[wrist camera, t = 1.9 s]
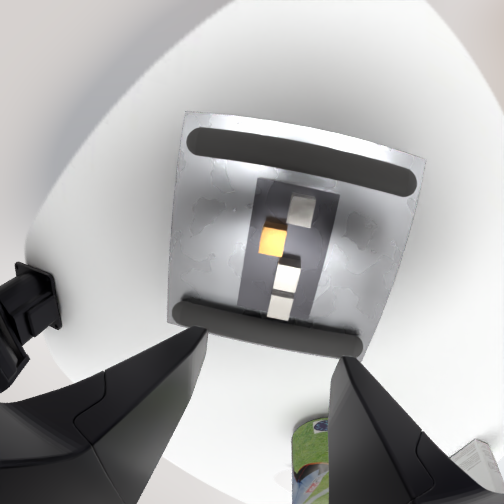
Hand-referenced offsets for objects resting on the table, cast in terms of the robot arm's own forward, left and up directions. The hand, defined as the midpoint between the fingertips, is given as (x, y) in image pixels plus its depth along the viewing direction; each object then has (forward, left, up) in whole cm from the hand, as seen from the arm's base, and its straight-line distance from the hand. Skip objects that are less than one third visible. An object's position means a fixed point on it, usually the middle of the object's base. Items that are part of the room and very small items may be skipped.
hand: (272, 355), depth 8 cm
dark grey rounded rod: (0, -5, -10) cm, 11 cm away
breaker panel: (0, 0, -12) cm, 12 cm away
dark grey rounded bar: (0, +5, -10) cm, 11 cm away
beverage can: (+8, -18, -12) cm, 23 cm away
